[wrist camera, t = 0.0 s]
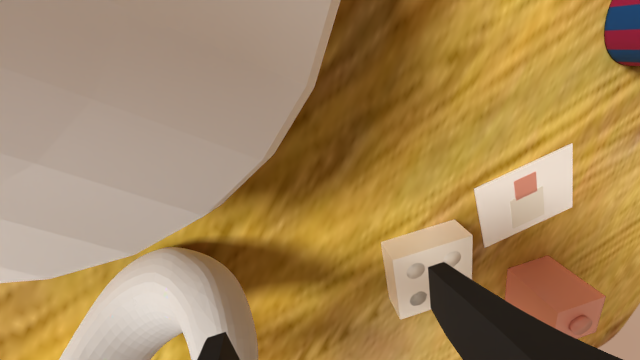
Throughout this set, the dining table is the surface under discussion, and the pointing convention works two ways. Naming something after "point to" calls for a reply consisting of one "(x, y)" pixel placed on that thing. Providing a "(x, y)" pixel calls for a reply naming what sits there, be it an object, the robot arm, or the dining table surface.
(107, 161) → the vase
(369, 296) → the dining table surface
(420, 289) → the base brick
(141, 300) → the toy
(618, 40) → the mug
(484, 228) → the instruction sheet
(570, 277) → the red brick
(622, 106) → the dining table surface
